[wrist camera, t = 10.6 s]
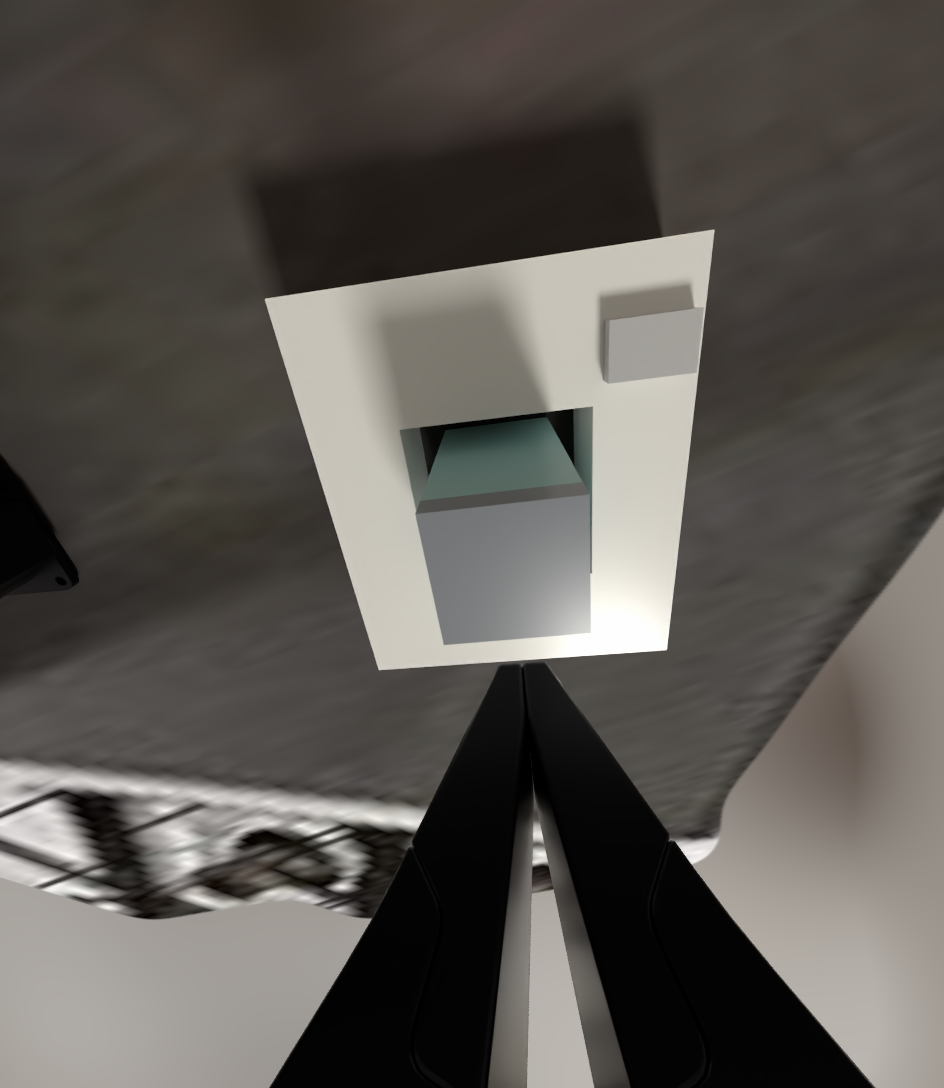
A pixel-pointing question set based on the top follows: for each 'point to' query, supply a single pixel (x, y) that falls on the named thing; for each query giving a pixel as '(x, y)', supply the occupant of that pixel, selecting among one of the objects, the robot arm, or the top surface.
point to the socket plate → (501, 391)
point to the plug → (506, 535)
